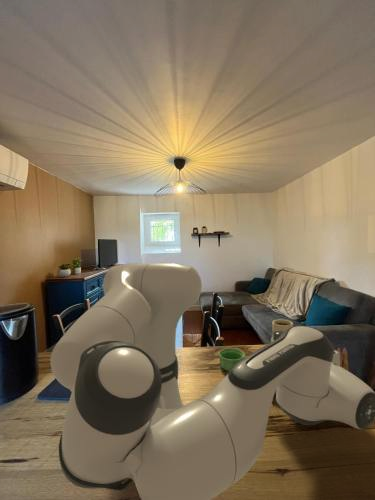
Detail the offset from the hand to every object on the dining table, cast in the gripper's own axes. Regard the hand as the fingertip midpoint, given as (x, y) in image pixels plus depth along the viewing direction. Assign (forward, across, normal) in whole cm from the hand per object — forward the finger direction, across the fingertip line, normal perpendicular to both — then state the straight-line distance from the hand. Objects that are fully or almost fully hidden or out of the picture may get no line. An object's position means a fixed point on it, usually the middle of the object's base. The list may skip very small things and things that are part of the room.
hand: (278, 345), depth 76 cm
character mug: (+14, +11, -12) cm, 22 cm away
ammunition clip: (-6, +13, -12) cm, 19 cm away
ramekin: (+14, -9, -12) cm, 21 cm away
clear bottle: (-1, 0, -7) cm, 7 cm away
